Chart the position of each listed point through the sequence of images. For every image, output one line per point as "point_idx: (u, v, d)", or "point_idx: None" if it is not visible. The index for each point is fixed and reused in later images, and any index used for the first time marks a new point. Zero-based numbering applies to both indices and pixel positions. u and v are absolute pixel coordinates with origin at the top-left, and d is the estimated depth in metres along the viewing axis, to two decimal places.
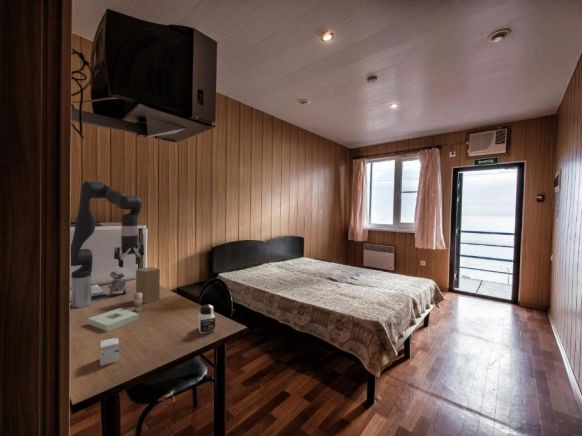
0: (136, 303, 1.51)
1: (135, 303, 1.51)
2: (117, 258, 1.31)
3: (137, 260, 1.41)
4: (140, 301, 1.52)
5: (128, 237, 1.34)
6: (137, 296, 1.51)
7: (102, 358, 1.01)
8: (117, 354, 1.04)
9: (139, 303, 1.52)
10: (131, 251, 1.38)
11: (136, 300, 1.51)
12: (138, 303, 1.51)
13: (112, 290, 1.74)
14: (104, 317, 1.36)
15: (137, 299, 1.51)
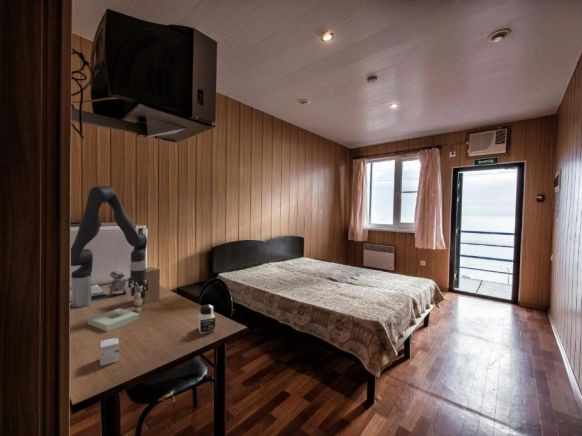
0: (136, 303, 1.51)
1: (135, 303, 1.51)
2: (147, 289, 1.50)
3: (134, 291, 1.54)
4: (140, 301, 1.52)
5: (145, 270, 1.53)
6: (137, 296, 1.51)
7: (102, 358, 1.01)
8: (117, 354, 1.04)
9: (139, 303, 1.52)
10: None
11: (136, 300, 1.51)
12: (138, 303, 1.51)
13: (112, 290, 1.74)
14: (104, 317, 1.36)
15: (137, 299, 1.51)
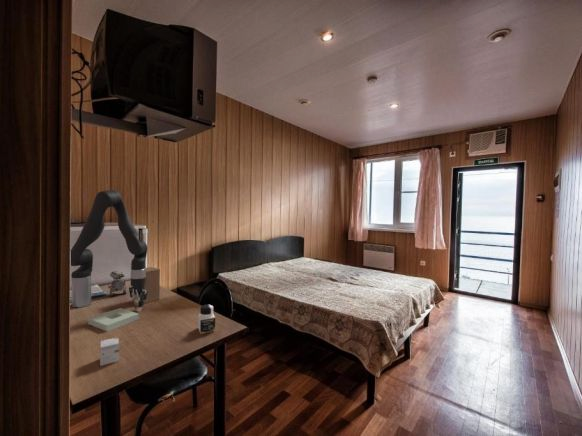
0: (136, 303, 1.51)
1: (135, 303, 1.51)
2: (145, 298, 1.52)
3: None
4: None
5: (145, 278, 1.54)
6: None
7: (102, 358, 1.01)
8: (117, 354, 1.04)
9: None
10: None
11: (136, 300, 1.51)
12: (138, 303, 1.51)
13: (112, 290, 1.74)
14: (104, 317, 1.36)
15: (137, 299, 1.51)
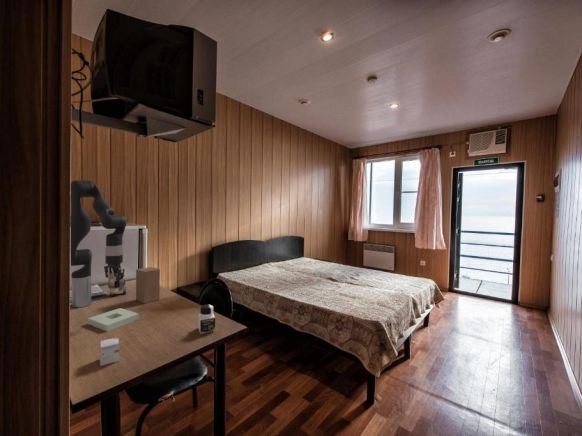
0: (112, 283, 1.35)
1: (110, 283, 1.35)
2: (122, 278, 1.36)
3: None
4: None
5: (122, 256, 1.38)
6: None
7: (102, 358, 1.01)
8: (117, 354, 1.04)
9: None
10: None
11: (111, 280, 1.35)
12: None
13: None
14: (104, 317, 1.36)
15: (112, 278, 1.35)
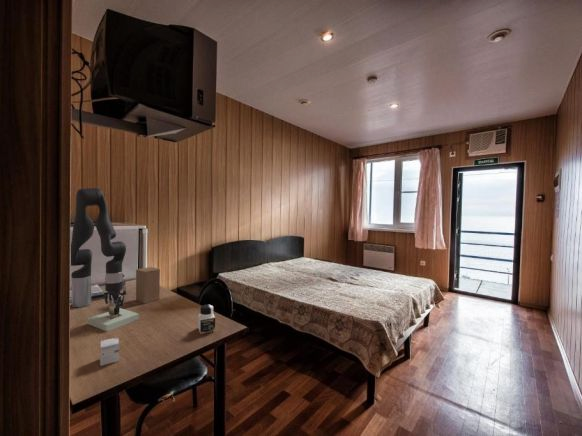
0: (111, 310, 1.36)
1: (110, 310, 1.36)
2: (122, 304, 1.37)
3: None
4: None
5: (122, 282, 1.39)
6: None
7: (102, 358, 1.01)
8: (117, 354, 1.04)
9: None
10: None
11: (111, 306, 1.36)
12: None
13: None
14: (104, 317, 1.36)
15: (112, 305, 1.36)
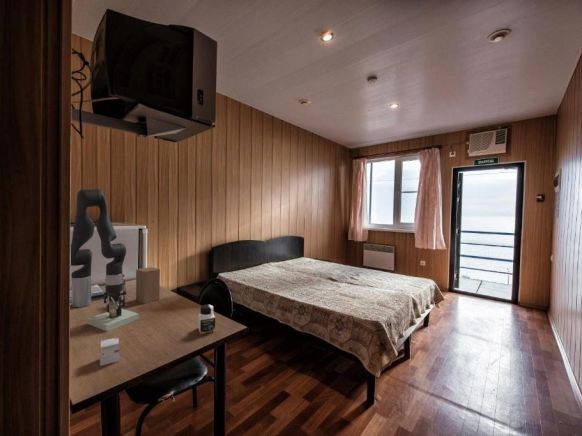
0: (111, 313, 1.36)
1: (110, 313, 1.36)
2: (124, 305, 1.36)
3: None
4: None
5: (122, 284, 1.39)
6: (112, 305, 1.36)
7: (102, 358, 1.01)
8: (117, 354, 1.04)
9: (115, 313, 1.37)
10: None
11: (111, 310, 1.36)
12: (114, 313, 1.36)
13: None
14: (104, 317, 1.36)
15: (112, 308, 1.36)
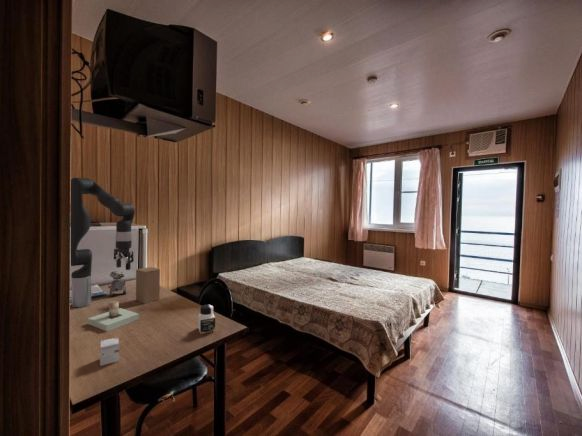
0: (111, 313, 1.36)
1: (110, 313, 1.36)
2: (133, 260, 1.46)
3: (119, 263, 1.50)
4: (116, 311, 1.37)
5: (131, 241, 1.49)
6: (112, 305, 1.36)
7: (102, 358, 1.01)
8: (117, 354, 1.04)
9: (115, 313, 1.37)
10: None
11: (111, 310, 1.36)
12: (114, 313, 1.36)
13: (112, 290, 1.74)
14: (104, 317, 1.36)
15: (112, 308, 1.36)
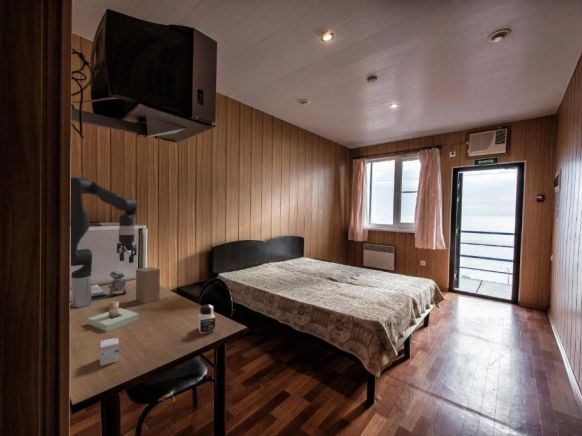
0: (111, 313, 1.36)
1: (110, 313, 1.36)
2: (136, 254, 1.50)
3: (122, 257, 1.54)
4: (116, 311, 1.37)
5: None
6: (112, 305, 1.36)
7: (102, 358, 1.01)
8: (117, 354, 1.04)
9: (115, 313, 1.37)
10: None
11: (111, 310, 1.36)
12: (114, 313, 1.36)
13: (112, 290, 1.74)
14: (104, 317, 1.36)
15: (112, 308, 1.36)
